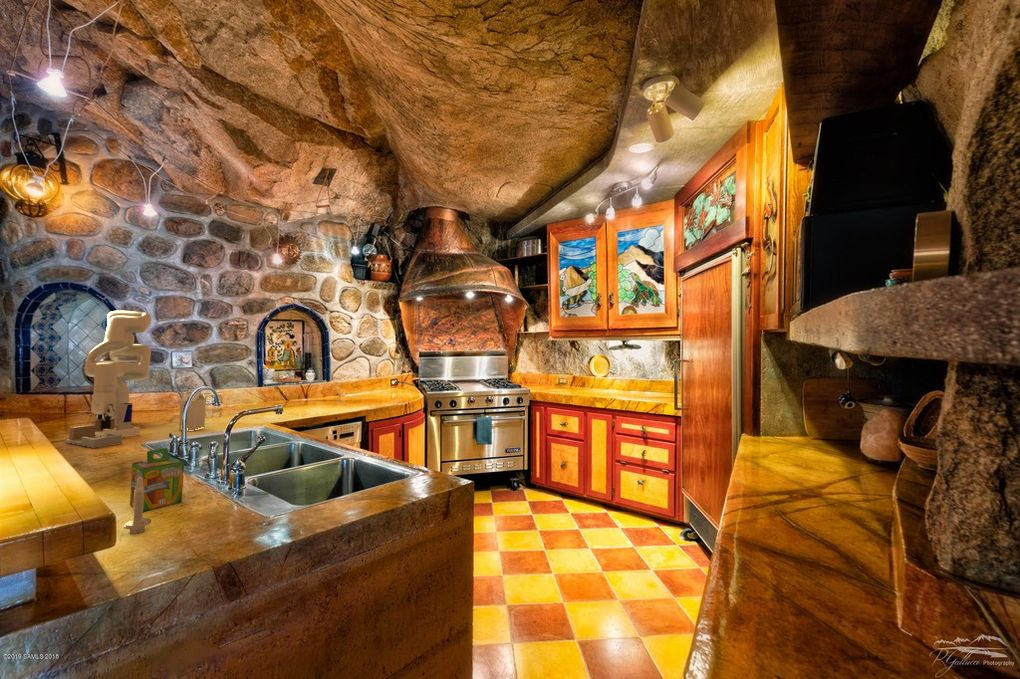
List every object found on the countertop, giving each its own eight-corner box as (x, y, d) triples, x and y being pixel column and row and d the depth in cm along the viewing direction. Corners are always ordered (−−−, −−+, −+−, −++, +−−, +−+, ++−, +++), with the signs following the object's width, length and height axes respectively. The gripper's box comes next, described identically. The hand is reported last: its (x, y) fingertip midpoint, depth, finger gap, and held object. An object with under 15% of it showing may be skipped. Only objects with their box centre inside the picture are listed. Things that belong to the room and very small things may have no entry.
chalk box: (140, 513, 107) (143, 456, 107) (128, 505, 111) (131, 450, 112) (183, 502, 114) (186, 449, 115) (170, 495, 119) (172, 444, 120)
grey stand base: (65, 442, 171) (66, 427, 171) (94, 438, 179) (94, 424, 179) (93, 448, 164) (94, 432, 164) (121, 443, 172) (122, 428, 173)
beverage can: (133, 436, 186) (134, 403, 186) (118, 438, 181) (120, 404, 182) (127, 434, 188) (129, 402, 188) (113, 436, 183) (114, 403, 184)
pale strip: (87, 434, 186) (88, 420, 186) (113, 430, 194) (114, 417, 195) (114, 439, 179) (115, 425, 179) (139, 435, 188) (140, 421, 188)
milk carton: (193, 431, 198) (195, 392, 198) (178, 431, 198) (180, 392, 198) (204, 428, 205) (206, 391, 205) (190, 428, 205) (192, 390, 205)
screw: (135, 527, 99) (156, 527, 99) (117, 536, 94) (138, 536, 94) (138, 473, 99) (158, 473, 99) (120, 479, 94) (141, 480, 94)
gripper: (84, 388, 189) (82, 428, 189) (105, 391, 184) (103, 431, 183) (105, 387, 196) (103, 425, 196) (125, 389, 191) (123, 428, 190)
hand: (103, 428), depth 190 cm, fingers closed on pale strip, 3 cm apart
